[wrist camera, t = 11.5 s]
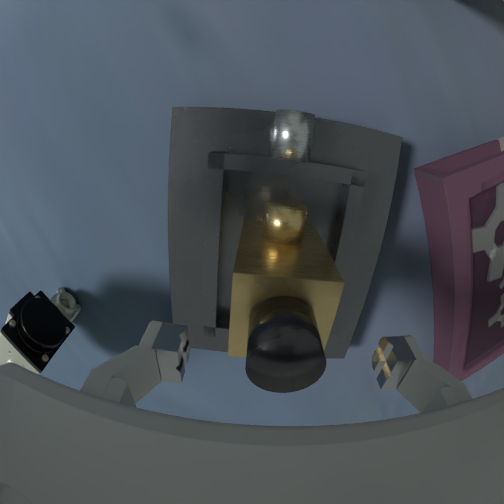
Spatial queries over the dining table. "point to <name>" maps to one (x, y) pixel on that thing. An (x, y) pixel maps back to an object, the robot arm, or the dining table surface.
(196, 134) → the plate
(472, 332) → the book
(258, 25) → the dining table surface
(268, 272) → the brass valve
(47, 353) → the pneumatic valve
